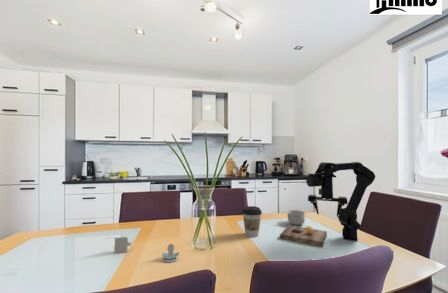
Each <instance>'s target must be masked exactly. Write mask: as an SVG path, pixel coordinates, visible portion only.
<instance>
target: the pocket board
mask: <svg viewBox="0 0 448 293" xmlns="http://www.w3.org/2000/svg"><path fill="white" fill-rule="evenodd" d="M327 234H328V231H326V230H322V229H321V230H320V229H315V228H313V233H312V234H308V233H307V232H306V227H302V226H295V225H289V224H288V225H287V226H286V228H285V229H284V230H283V231H281V233H280V234H279V239H280V240H284V241H289V242H293V243H299V244H304V245H307V246H308V245H309V246H313V247H319V248H323V247H324V244H325V242H326V238H327V236H328V235H327Z"/></svg>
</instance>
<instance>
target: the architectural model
mask: <svg viewBox="0 0 448 293" xmlns="http://www.w3.org/2000/svg"><path fill="white" fill-rule="evenodd" d="M128 238H129V237H128V236H122V237H114V246H113V248H114V249H113V253H114V254H127V253H128V247H131V246H132V245H133V242H129V240H128Z"/></svg>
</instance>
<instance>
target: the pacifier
mask: <svg viewBox="0 0 448 293" xmlns="http://www.w3.org/2000/svg"><path fill="white" fill-rule="evenodd" d="M174 250H175V245H174V244H173V243H170V244H167V252H168V253H166V252H162V253H161V256H162V257H163V258H162V262H164V263H174V262H177V261H178V260H179V259H178V258H177V257H178V256H179V255H180V252H179V251H178V252H174Z"/></svg>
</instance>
